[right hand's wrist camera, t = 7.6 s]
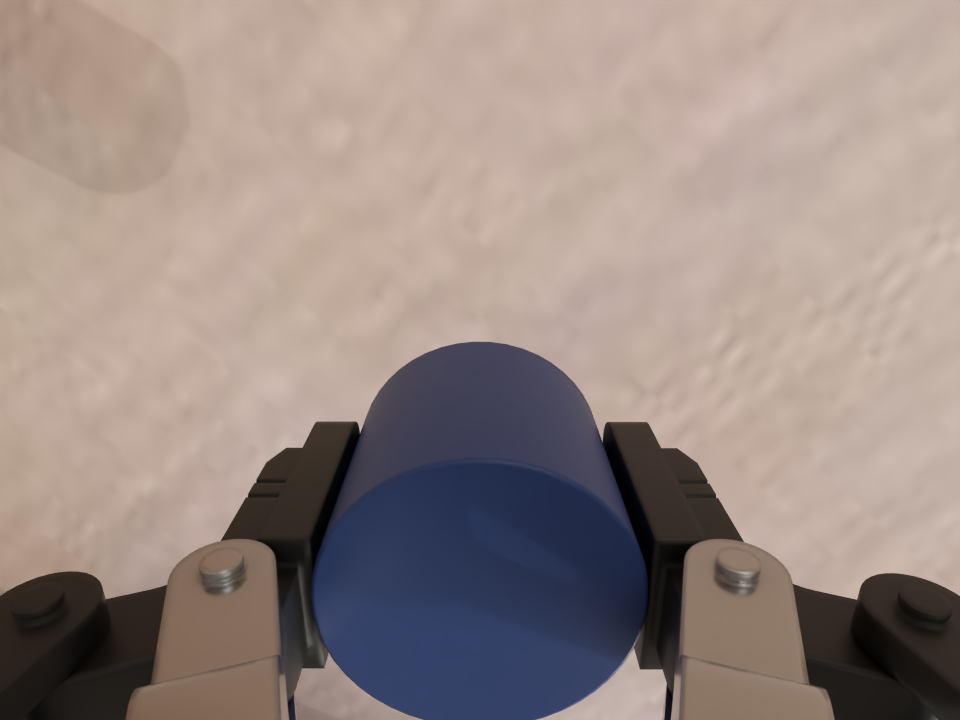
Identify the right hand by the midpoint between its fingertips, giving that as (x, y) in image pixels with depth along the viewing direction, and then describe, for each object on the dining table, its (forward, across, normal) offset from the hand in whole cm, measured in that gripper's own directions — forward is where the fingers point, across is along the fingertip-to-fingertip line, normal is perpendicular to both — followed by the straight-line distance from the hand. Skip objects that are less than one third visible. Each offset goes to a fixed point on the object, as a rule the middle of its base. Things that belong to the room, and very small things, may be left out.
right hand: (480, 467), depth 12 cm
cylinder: (+1, 0, 0) cm, 1 cm away
